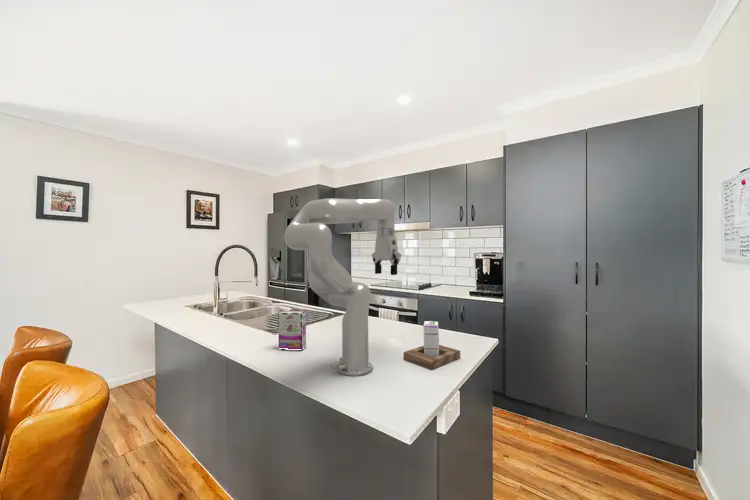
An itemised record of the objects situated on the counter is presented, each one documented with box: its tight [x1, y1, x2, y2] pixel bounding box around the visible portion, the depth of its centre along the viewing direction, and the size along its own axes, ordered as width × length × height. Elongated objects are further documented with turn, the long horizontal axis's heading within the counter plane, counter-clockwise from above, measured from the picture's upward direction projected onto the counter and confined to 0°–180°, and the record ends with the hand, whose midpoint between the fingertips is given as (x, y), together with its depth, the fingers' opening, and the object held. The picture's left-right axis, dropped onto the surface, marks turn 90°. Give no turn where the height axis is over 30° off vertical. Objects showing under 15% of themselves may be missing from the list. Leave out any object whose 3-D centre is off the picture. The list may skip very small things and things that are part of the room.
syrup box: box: [423, 320, 440, 357], centre depth 118 cm, size 6×6×14 cm
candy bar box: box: [277, 310, 307, 349], centre depth 132 cm, size 11×5×16 cm, turn 80°
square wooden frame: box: [403, 344, 461, 371], centre depth 118 cm, size 18×14×3 cm
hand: (385, 274), depth 125 cm, fingers open, 9 cm apart
